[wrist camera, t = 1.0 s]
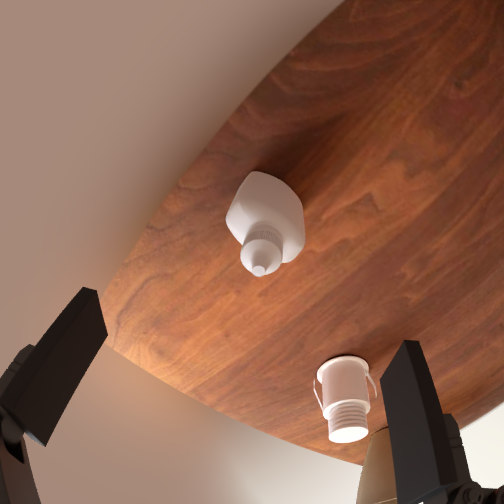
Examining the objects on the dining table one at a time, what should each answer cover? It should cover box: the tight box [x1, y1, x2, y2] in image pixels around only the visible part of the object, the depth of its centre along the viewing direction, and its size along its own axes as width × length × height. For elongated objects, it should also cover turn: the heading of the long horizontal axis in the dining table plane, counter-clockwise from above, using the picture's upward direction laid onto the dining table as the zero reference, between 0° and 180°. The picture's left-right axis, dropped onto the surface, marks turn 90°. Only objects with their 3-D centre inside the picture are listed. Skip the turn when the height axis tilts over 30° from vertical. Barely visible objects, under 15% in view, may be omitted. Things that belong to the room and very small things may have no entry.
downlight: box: [314, 356, 377, 443], centre depth 33 cm, size 8×7×10 cm
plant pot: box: [356, 428, 397, 504], centre depth 40 cm, size 15×15×16 cm
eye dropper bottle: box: [226, 171, 305, 277], centre depth 21 cm, size 4×6×12 cm
